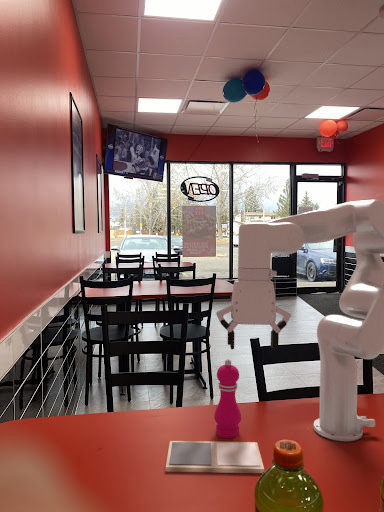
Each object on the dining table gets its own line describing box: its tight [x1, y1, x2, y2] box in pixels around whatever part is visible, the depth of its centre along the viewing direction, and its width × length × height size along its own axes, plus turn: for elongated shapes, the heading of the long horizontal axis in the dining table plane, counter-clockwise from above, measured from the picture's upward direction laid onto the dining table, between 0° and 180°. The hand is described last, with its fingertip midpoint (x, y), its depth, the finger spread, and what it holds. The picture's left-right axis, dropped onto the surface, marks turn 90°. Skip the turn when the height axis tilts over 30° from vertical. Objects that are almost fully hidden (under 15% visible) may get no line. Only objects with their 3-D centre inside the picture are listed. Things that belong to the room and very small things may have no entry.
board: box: [165, 440, 265, 474], centre depth 98 cm, size 22×12×1 cm, turn 88°
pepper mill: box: [213, 358, 242, 439], centre depth 110 cm, size 7×7×20 cm
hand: (252, 348), depth 96 cm, fingers open, 9 cm apart
